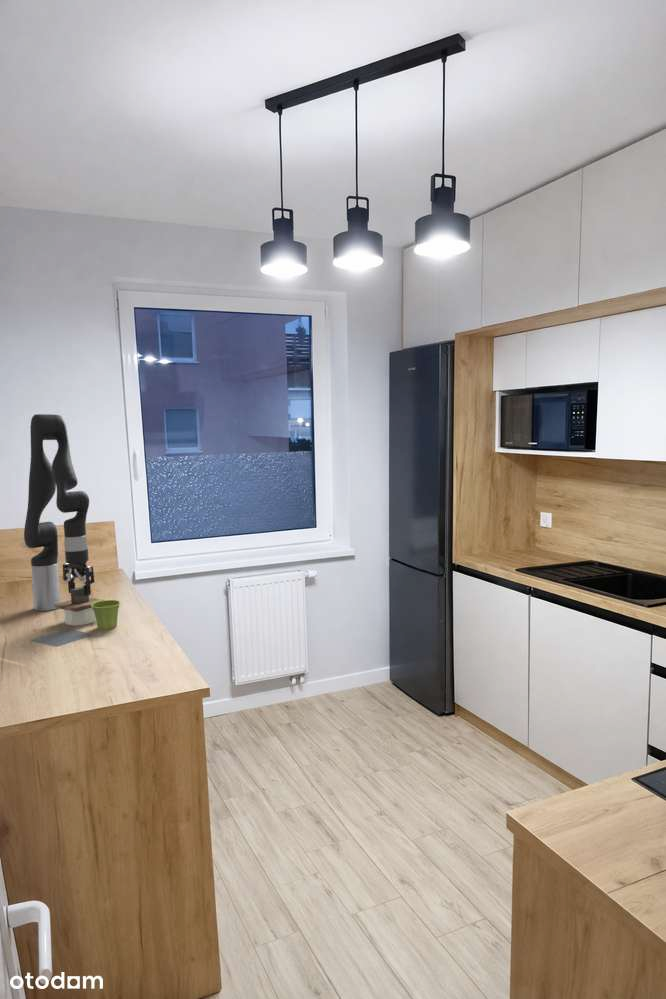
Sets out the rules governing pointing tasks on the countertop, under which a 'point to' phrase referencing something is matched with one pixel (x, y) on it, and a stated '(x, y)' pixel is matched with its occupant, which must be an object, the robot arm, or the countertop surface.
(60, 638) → the mat
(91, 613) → the bowl
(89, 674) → the countertop surface
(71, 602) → the lid
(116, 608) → the plant pot
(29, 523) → the robot arm
